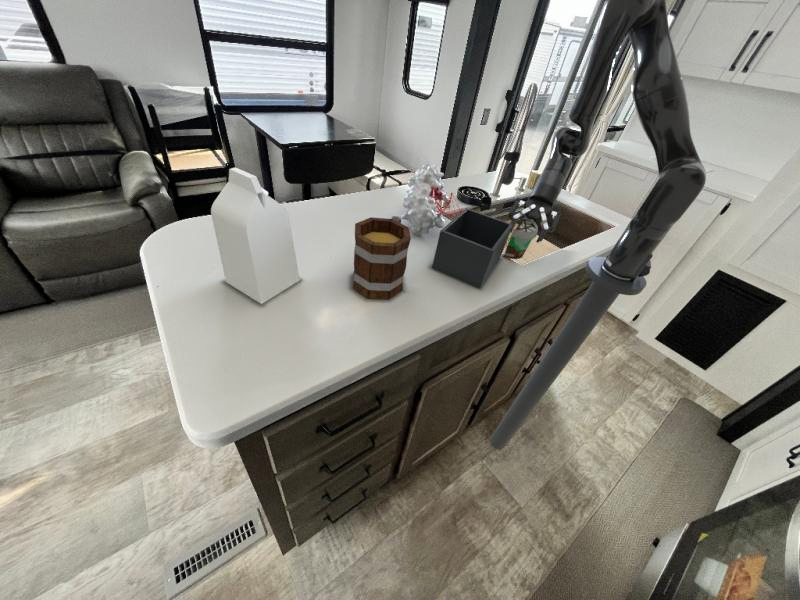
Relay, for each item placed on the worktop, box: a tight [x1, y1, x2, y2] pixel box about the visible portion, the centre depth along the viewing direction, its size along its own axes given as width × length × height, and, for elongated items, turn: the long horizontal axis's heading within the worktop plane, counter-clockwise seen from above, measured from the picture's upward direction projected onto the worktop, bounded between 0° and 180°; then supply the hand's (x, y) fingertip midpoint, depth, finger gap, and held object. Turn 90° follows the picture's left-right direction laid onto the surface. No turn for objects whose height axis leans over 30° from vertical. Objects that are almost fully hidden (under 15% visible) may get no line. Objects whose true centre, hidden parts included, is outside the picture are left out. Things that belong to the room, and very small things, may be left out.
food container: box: [503, 217, 539, 260], centre depth 99 cm, size 12×6×10 cm, turn 148°
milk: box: [210, 167, 301, 305], centre depth 69 cm, size 12×12×26 cm
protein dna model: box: [400, 162, 463, 236], centre depth 106 cm, size 20×18×25 cm
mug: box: [352, 215, 412, 300], centre depth 80 cm, size 20×14×15 cm
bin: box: [431, 207, 513, 289], centre depth 91 cm, size 15×19×12 cm
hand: (523, 236), depth 97 cm, fingers open, 8 cm apart
